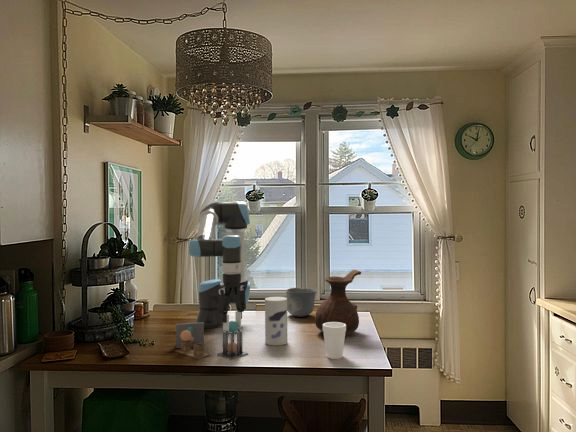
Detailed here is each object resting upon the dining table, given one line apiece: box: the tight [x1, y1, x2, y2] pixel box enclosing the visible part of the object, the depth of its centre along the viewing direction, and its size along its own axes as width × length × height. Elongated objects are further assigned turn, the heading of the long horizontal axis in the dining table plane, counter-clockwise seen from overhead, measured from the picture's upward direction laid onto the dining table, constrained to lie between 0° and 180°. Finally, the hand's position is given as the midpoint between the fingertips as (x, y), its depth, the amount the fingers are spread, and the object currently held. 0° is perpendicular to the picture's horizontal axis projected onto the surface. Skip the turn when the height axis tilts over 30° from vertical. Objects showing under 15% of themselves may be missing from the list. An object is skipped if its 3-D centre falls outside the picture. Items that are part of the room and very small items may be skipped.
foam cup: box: [322, 322, 346, 360], centre depth 195 cm, size 10×9×13 cm
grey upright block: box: [175, 322, 205, 349], centre depth 212 cm, size 5×12×10 cm, turn 102°
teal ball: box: [228, 320, 239, 333], centre depth 198 cm, size 5×5×5 cm
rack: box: [175, 340, 211, 360], centre depth 200 cm, size 16×6×5 cm, turn 47°
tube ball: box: [227, 341, 237, 353], centre depth 198 cm, size 5×5×5 cm
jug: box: [314, 269, 362, 337], centre depth 231 cm, size 22×22×30 cm
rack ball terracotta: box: [180, 330, 191, 341], centre depth 203 cm, size 5×5×5 cm
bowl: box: [285, 287, 317, 318], centre depth 268 cm, size 18×18×15 cm
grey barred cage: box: [216, 328, 249, 360], centre depth 198 cm, size 9×9×10 cm
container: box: [264, 296, 288, 346], centre depth 215 cm, size 10×10×20 cm
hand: (232, 328), depth 198 cm, fingers open, 6 cm apart
